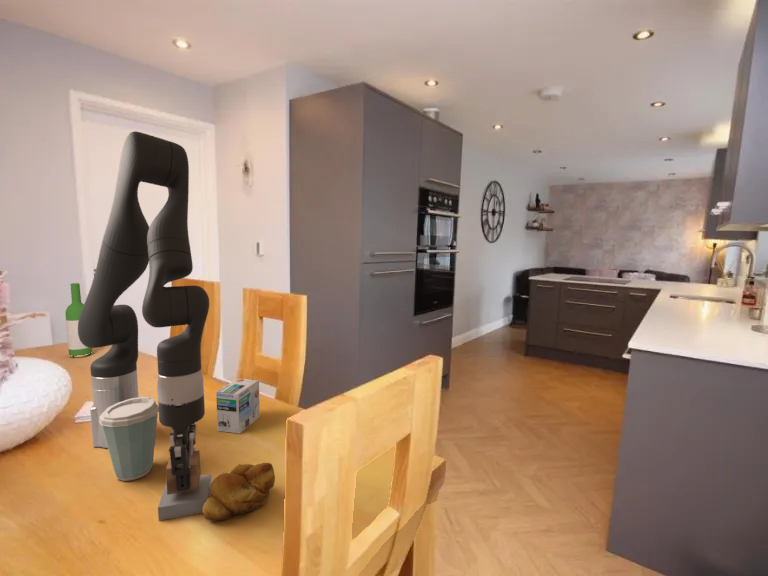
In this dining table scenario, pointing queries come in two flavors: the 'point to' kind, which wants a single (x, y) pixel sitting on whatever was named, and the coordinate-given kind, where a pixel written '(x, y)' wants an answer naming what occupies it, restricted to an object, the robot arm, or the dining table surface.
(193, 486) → the walnut cube
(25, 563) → the dining table surface
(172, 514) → the slate coaster
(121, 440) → the disposable coffee cup
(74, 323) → the wine bottle
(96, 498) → the dining table surface
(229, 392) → the light bulb box
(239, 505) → the bread roll
